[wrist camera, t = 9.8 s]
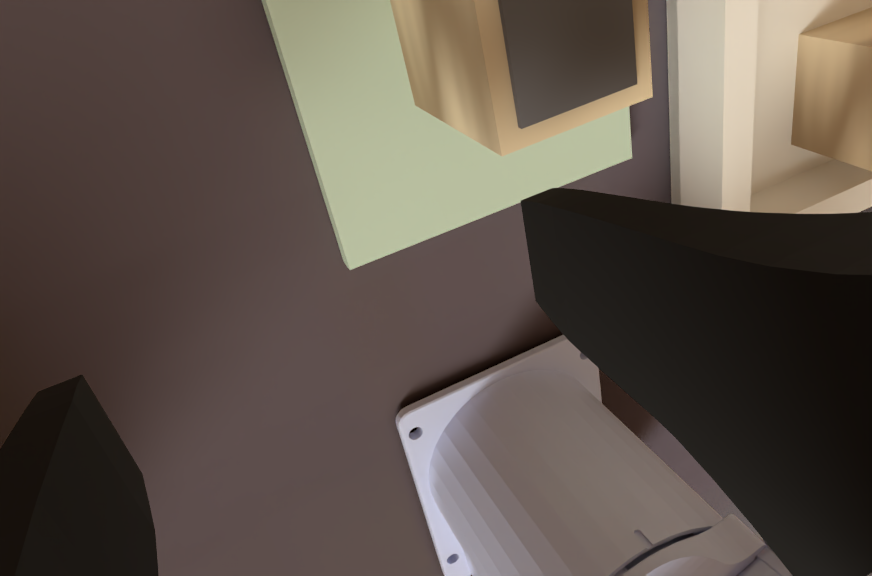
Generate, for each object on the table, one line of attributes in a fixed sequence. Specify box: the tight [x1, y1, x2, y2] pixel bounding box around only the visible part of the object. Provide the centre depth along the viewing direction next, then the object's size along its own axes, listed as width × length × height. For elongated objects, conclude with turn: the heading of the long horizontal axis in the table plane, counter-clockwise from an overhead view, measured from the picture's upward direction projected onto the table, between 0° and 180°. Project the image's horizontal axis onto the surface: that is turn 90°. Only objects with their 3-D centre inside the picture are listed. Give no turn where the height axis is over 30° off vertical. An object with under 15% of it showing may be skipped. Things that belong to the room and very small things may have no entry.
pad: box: [262, 0, 632, 270], centre depth 19 cm, size 12×10×1 cm
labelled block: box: [390, 0, 653, 156], centre depth 17 cm, size 4×4×5 cm
